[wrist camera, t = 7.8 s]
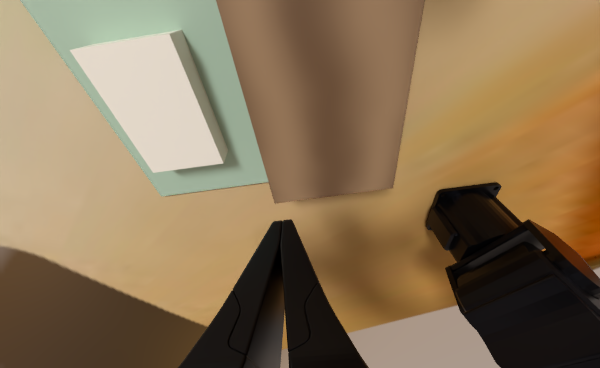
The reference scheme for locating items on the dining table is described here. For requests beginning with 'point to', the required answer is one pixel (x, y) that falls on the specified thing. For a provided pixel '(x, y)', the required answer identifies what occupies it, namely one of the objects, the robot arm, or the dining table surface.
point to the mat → (208, 60)
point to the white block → (156, 99)
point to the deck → (325, 89)
